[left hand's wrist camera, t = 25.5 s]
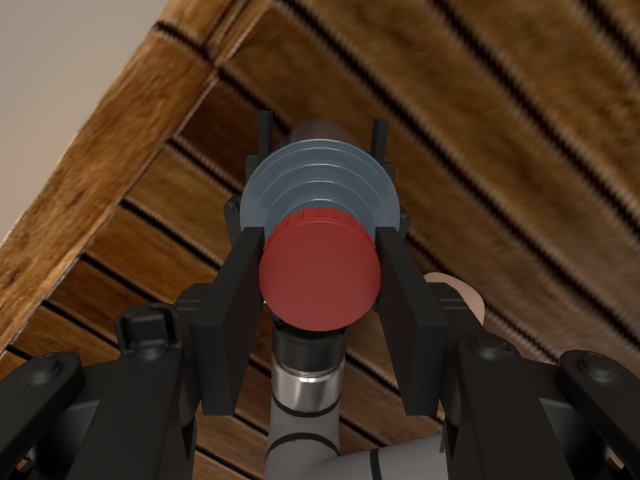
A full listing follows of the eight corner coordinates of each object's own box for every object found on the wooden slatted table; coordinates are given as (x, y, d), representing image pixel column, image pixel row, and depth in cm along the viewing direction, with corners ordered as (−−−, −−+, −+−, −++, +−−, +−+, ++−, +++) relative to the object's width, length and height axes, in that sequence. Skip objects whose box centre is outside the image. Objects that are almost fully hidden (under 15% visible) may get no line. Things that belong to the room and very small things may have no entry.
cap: (321, 180, 13) (321, 192, 12) (399, 260, 15) (409, 281, 13) (240, 257, 15) (230, 278, 13) (318, 326, 16) (318, 352, 14)
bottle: (292, 105, 35) (238, 121, 12) (374, 134, 36) (473, 203, 13) (268, 186, 38) (186, 329, 15) (344, 212, 39) (380, 383, 16)
